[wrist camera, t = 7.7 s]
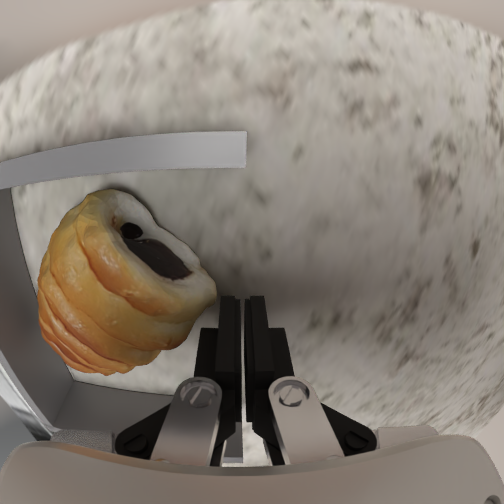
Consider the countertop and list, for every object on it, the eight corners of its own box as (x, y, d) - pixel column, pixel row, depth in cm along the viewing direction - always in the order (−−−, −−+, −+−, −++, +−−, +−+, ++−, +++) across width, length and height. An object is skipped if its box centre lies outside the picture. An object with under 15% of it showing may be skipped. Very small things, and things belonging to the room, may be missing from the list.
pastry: (121, 372, 14) (102, 423, 11) (31, 298, 12) (-5, 339, 9) (231, 273, 12) (229, 333, 8) (109, 162, 10) (54, 180, 6)
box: (243, 131, 9) (246, 131, 6) (241, 405, 15) (243, 462, 12) (-3, 163, 9) (-61, 184, 5) (69, 386, 15) (48, 430, 11)
